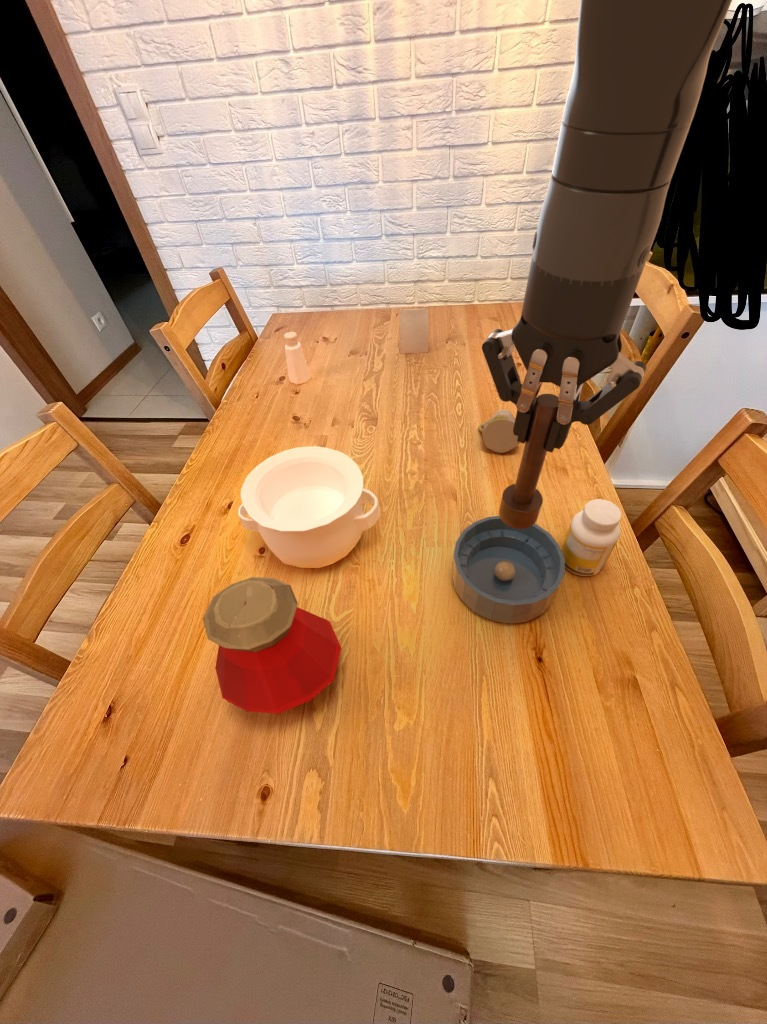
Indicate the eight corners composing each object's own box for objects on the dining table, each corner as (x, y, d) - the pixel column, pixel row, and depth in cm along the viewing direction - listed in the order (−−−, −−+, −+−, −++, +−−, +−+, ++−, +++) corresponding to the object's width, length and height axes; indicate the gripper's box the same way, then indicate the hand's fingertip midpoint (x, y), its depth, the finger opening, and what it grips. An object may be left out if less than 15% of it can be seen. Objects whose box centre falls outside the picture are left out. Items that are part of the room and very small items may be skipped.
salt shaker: (316, 377, 108) (307, 333, 100) (297, 387, 106) (286, 343, 98) (302, 369, 111) (293, 325, 103) (284, 378, 109) (272, 334, 100)
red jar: (342, 621, 66) (320, 537, 51) (351, 718, 58) (328, 650, 43) (233, 638, 66) (178, 558, 51) (225, 739, 57) (156, 678, 42)
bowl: (568, 563, 71) (578, 539, 66) (534, 644, 63) (543, 623, 58) (476, 526, 76) (480, 502, 72) (434, 596, 68) (435, 574, 64)
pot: (380, 494, 83) (375, 441, 73) (384, 575, 71) (379, 525, 62) (259, 502, 83) (239, 451, 74) (243, 584, 72) (217, 536, 62)
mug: (518, 422, 93) (535, 401, 84) (504, 465, 92) (520, 449, 82) (483, 410, 94) (496, 388, 84) (468, 452, 92) (480, 435, 82)
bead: (516, 573, 69) (520, 562, 67) (509, 588, 67) (512, 577, 65) (497, 565, 70) (500, 553, 68) (490, 579, 69) (492, 568, 66)
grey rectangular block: (428, 352, 112) (428, 312, 105) (400, 353, 113) (399, 313, 105) (427, 344, 115) (428, 304, 107) (400, 345, 115) (399, 306, 108)
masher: (542, 508, 54) (580, 394, 42) (529, 534, 52) (566, 421, 39) (506, 495, 56) (533, 381, 43) (492, 520, 53) (516, 406, 41)
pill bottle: (593, 541, 73) (617, 491, 64) (609, 576, 69) (637, 527, 60) (553, 545, 73) (571, 495, 64) (566, 580, 69) (587, 532, 60)
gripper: (706, 249, 32) (619, 441, 45) (512, 222, 37) (486, 402, 50) (689, 295, 28) (599, 491, 41) (474, 257, 33) (456, 443, 46)
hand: (537, 441), depth 45 cm, fingers closed on masher, 2 cm apart
